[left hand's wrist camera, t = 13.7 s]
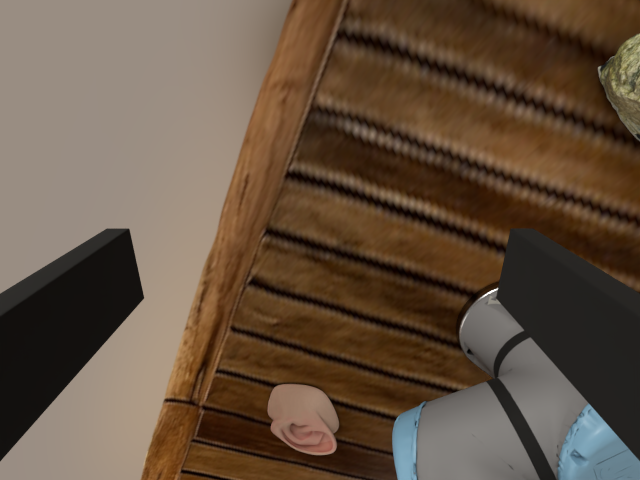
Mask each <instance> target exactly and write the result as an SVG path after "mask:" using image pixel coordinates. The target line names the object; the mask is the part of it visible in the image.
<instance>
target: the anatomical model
mask: <svg viewBox="0 0 640 480" xmlns="http://www.w3.org/2000/svg"><path fill="white" fill-rule="evenodd" d="M268 414H269V416H270V417H271V419H272V420H274V421H273V422H272V424H271V431H272V432H273V433H274V434H275V435H276V436H278V437H279V438H280V439H281V440H283V441H284V442H285V443H286V444H288V445H289V446H291V447H292V448H294V449H296V450H298V451H300V452H304V453H308V454H313V455H326V454H331V453H333V452H334V451H335V450H336V447H337V443H336V439H335V436H334V434H333V433H335V432H336V431H337V430H338V428H339V421H338V417H337V414H336V411H335V409H334V407H333V405H332V403H331V401H330V400H329V398H328V397H327V396H326V394H325V393H324V392H322V391H321V390H319V389H317V388H315V387H312V386H307V385H299V384H282V385H278V386H276V387H275V388H274V389H273V391H272V393H271V396H270V399H269V402H268Z"/></svg>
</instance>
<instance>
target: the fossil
mask: <svg viewBox="0 0 640 480" xmlns="http://www.w3.org/2000/svg"><path fill="white" fill-rule="evenodd" d="M598 72H599V78H600V82H601V83H602V85H603V86H604V89H605V91H606V95H607V98H608V100H609V101H610V102H611V104H612V106H613V108H614V109H615V110H616V111H617V113H618V116H619V118H620V120H621V121H622V122H623V123H624V125H625V126H626V127H627V128H628V130H629V131H630V132H631V133H632V134H633V135H634V136H635V137H636V139H638V140H639V141H640V34H637V35H635V36H633V37H632V38H630V39H628V40H627V41H625V42H624V43H623V44H622V45H621V46H620V47H619V49H618V51H617V53H616V55H615V56H613V57H611V58H610V59H609V60H608V61H607V62H606V64H605V65H602V66H600V67H598Z"/></svg>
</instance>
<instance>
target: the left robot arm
mask: <svg viewBox="0 0 640 480" xmlns="http://www.w3.org/2000/svg"><path fill="white" fill-rule="evenodd" d="M143 299H144V295H143V291H142V286H141V281H140V277H139V272H138V267H137V263H136V258H135V253H134V249H133V244H132V239H131V235H130V230H129V229H106V230H104V231H102V232H101V233H99V234H97V235H96V236H94V237H93V238H91V239H89V240H88V241H86V242H84V243H83V244H81V245H79V246H78V247H76V248H75V249H73V250H71V251H70V252H68V253H66V254H65V255H63V256H61V257H60V258H58V259H56V260H55V261H53V262H52V263H50V264H48V265H47V266H45V267H43V268H42V269H40V270H38V271H37V272H35V273H33V274H32V275H30V276H29V277H27V278H25V279H24V280H22V281H20V282H19V283H17V284H16V285H14V286H12V287H10V288H9V289H7V290H6V291H4V292H2V293H1V294H0V461H1V460H2V459H3V457H4V456H5V455H6V454H7V453H8V452H9V451H10V450H11V448H12V447H13V446H14V445H15V444H16V443H17V442H18V440H19V439H20V438H21V437H22V436H23V435H24V434H25V433H26V431H27V430H28V429H29V428H30V427H31V426H32V425H33V424H34V422H35V421H36V420H37V419H38V418H39V417H40V416H41V414H42V413H43V412H44V411H45V410H46V409H47V408H48V407H49V405H50V404H51V403H52V402H53V401H54V400H55V399H56V397H57V396H58V395H59V394H60V393H61V392H62V391H63V390H64V388H65V387H66V386H67V385H68V384H69V383H70V382H71V380H72V379H73V378H74V377H75V376H76V375H77V374H78V373H79V371H80V370H81V369H82V368H83V367H84V366H85V365H86V363H87V362H88V361H89V360H90V359H91V358H92V357H93V355H94V354H95V353H96V352H97V351H98V350H99V349H100V347H101V346H102V345H103V344H104V343H105V342H106V341H107V340H108V339H109V337H110V336H111V335H112V334H113V333H114V332H115V331H116V329H117V328H118V327H119V326H120V325H121V324H122V323H123V321H124V320H125V319H126V318H127V317H128V316H129V315H130V314H131V312H132V311H133V310H134V309H135V308H136V307H137V306H138V304H139V303H140V302H141V301H142V300H143ZM456 335H457V339H458V342H459V344H460V346H461V348H462V349H463V351H464V353H465V355H466V356H467V357H468V358H469V359H470V360H471V361H472V362H473V363H474V364H476V365H477V366H478V367H479V368H481V369H482V370H483V371H485V372H486V373H487V374H488V375H490V376H491V377H492V378H494V379H492V380H489V381H486V382H483V383H481V384H478V385H475V386H472V387H469V388H466V389H464V390H461V391H458V392H455V393H452V394H449V395H446V396H444V397H441V398H438V399H435V400H432V401H429V402H427V401H425V402H423V403H422V404H420V406H418V407H416V408H413V409H411V410H408V411H406V412H404V413H402V414H400V415H399V416H398V418H397V419H396V421H395V424H394V428H393V435H392V442H393V455H394V462H395V467H396V473H397V478H398V480H640V294H639V293H638V292H636V291H634V290H633V289H631V288H630V287H628V286H626V285H625V284H623V283H621V282H620V281H618V280H616V279H615V278H613V277H611V276H610V275H608V274H607V273H605V272H603V271H602V270H600V269H598V268H597V267H595V266H593V265H592V264H590V263H589V262H587V261H585V260H584V259H582V258H580V257H579V256H577V255H575V254H574V253H572V252H570V251H569V250H567V249H566V248H564V247H562V246H561V245H559V244H557V243H556V242H554V241H552V240H551V239H549V238H547V237H546V236H544V235H543V234H541V233H539V232H538V231H536V230H534V229H511V230H510V235H509V239H508V244H507V249H506V253H505V258H504V263H503V267H502V272H501V277H500V281H499V282H497V283H494V284H491V285H489V286H487V287H485V288H483V289H482V290H480V291H479V292H477V293H476V294H475V295H474V296H472V297H471V298H470V299H469V300H468V302H467V303H466V304H465V305H464V307H463V308H462V310H461V312H460V314H459V316H458V319H457V324H456Z"/></svg>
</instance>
